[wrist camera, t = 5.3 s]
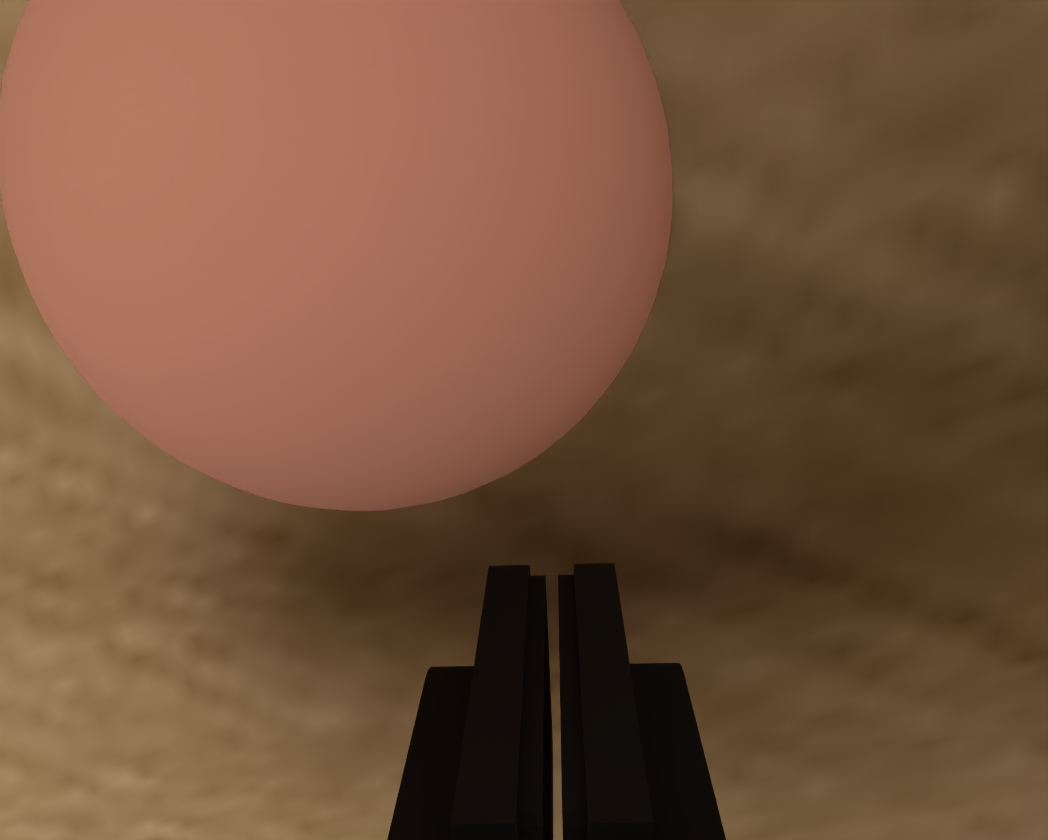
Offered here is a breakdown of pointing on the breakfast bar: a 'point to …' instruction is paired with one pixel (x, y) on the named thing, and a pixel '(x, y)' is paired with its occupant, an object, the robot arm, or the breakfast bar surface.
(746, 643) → the breakfast bar surface
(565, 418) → the pink smooth round ball
